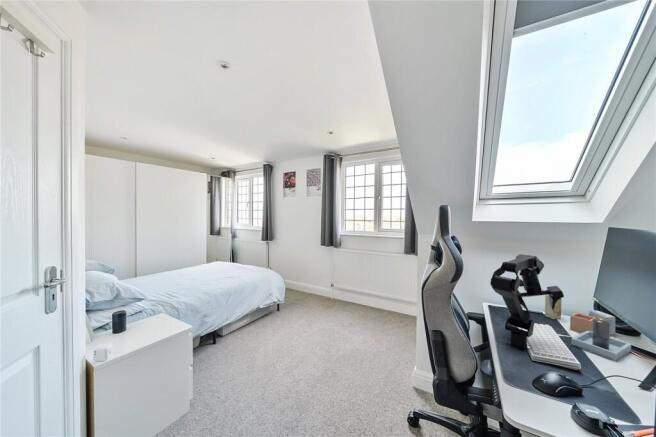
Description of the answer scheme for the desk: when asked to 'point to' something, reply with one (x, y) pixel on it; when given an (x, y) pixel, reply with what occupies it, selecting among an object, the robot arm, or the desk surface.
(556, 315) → the skincare box
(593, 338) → the block
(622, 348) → the trough
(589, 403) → the desk surface
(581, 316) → the orange open box
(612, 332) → the medicine box
